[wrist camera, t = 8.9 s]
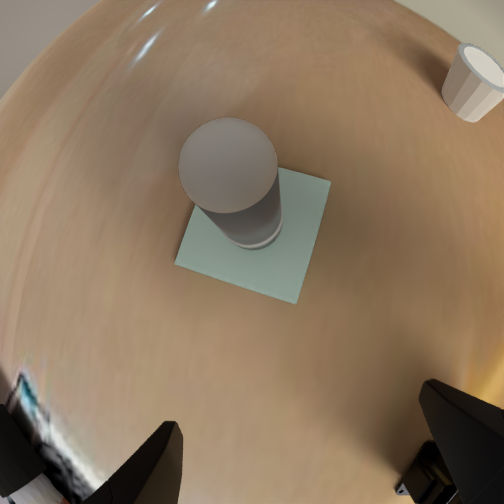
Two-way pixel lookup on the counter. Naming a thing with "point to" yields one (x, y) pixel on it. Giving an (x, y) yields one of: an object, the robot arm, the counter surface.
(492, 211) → the counter surface
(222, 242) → the coaster
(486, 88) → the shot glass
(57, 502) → the striped bottle
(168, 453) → the robot arm
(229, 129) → the cylinder
